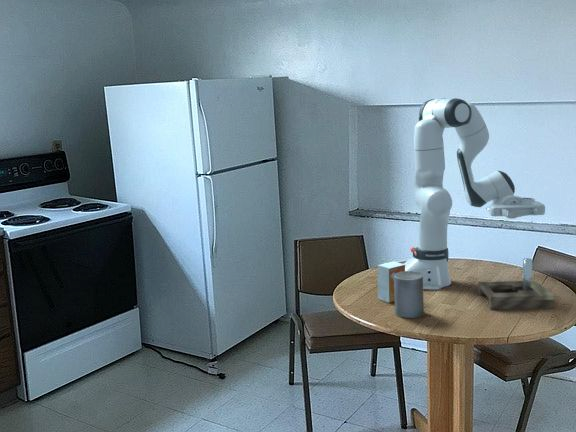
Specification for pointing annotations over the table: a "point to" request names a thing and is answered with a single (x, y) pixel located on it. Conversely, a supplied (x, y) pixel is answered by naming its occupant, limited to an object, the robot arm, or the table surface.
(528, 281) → the footed peg
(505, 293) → the keyhole plate
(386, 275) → the small box
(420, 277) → the pillar candle
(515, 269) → the table surface
